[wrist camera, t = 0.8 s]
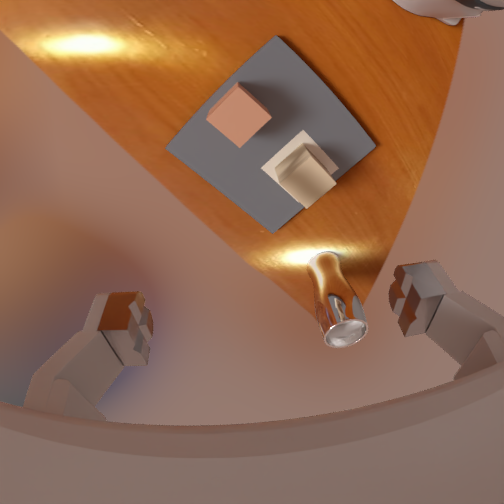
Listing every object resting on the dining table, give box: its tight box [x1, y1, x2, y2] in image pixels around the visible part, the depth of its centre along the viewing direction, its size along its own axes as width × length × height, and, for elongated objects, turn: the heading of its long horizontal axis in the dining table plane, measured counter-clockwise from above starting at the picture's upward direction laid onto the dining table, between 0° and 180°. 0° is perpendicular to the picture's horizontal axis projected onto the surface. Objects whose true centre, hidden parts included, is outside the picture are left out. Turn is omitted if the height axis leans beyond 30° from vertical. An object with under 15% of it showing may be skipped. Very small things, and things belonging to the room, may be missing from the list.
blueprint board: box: [165, 35, 376, 234], centre depth 39 cm, size 20×20×1 cm
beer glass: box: [307, 252, 368, 348], centre depth 47 cm, size 7×7×15 cm
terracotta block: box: [206, 82, 272, 148], centre depth 33 cm, size 5×5×5 cm
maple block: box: [275, 143, 337, 209], centre depth 39 cm, size 5×5×5 cm
